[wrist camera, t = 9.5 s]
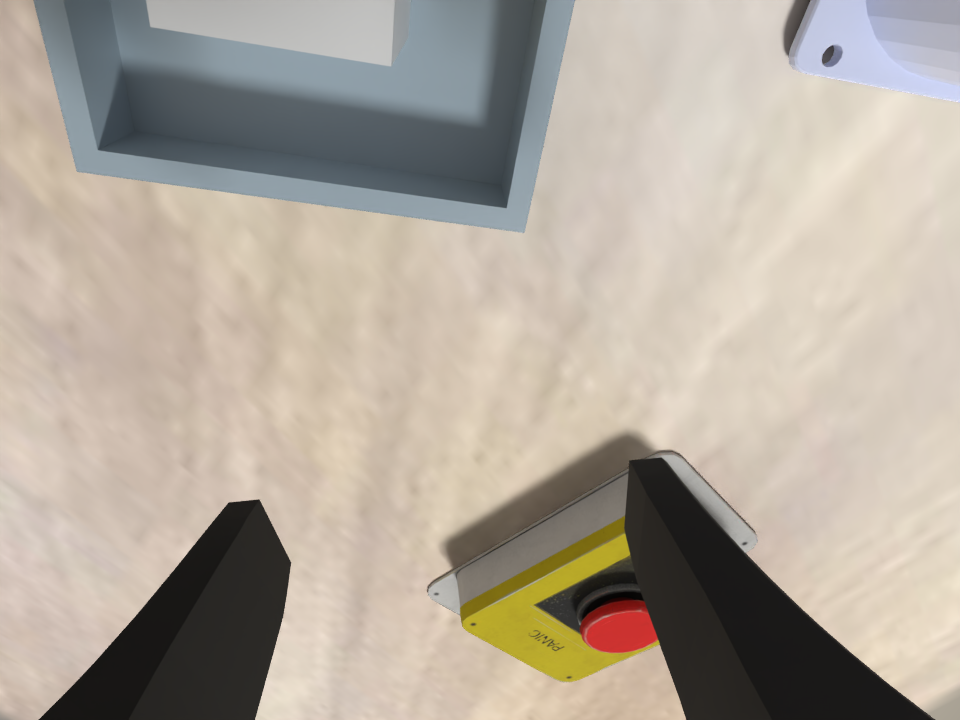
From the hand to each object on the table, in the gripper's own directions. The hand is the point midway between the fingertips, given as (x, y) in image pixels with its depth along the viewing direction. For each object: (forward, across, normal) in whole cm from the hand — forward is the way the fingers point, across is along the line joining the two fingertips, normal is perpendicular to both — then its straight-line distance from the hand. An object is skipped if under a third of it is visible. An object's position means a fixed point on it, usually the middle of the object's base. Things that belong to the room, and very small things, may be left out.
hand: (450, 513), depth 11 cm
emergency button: (+10, -5, +17) cm, 20 cm away
